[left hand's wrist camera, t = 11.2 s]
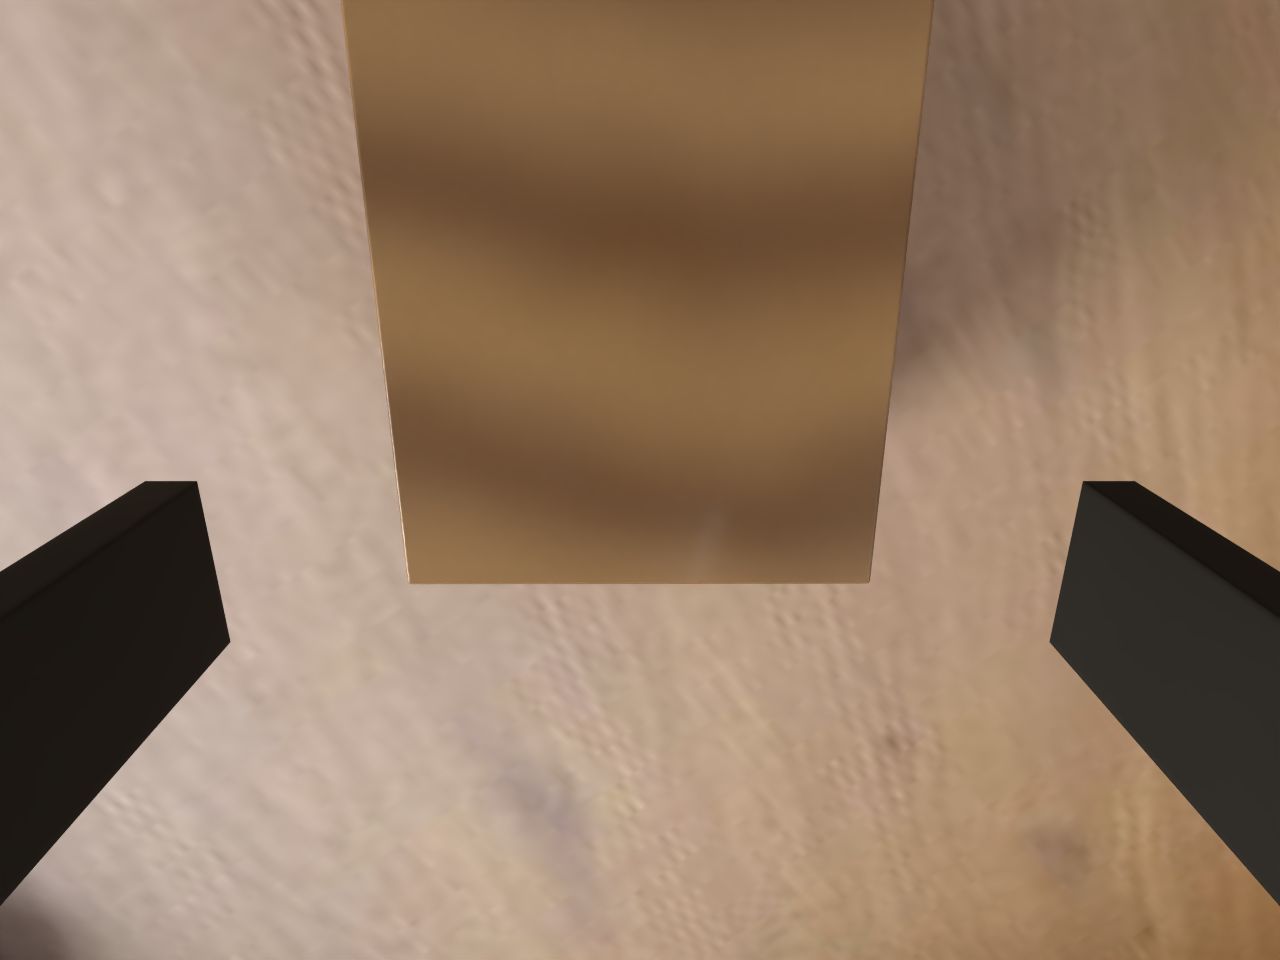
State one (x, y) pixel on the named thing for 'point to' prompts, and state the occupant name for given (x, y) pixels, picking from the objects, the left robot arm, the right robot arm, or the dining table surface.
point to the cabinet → (638, 279)
